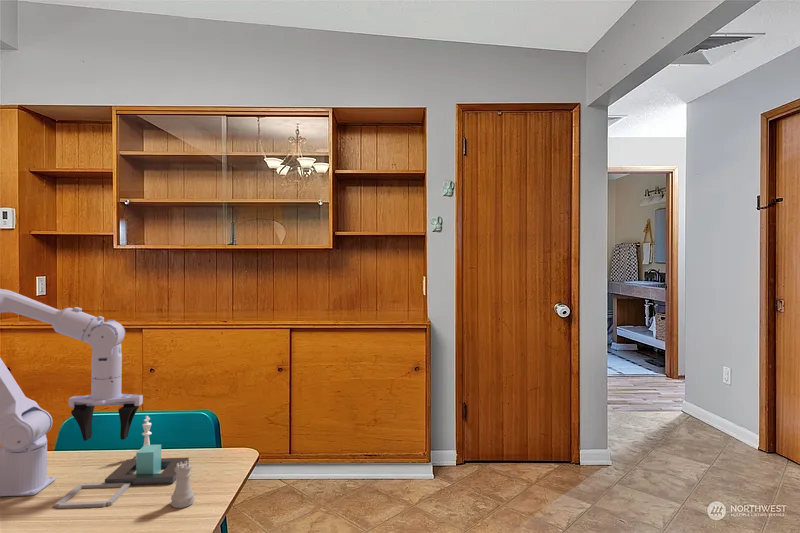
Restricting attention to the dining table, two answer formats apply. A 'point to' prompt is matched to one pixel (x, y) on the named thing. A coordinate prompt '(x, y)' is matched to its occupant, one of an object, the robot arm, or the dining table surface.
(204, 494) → the dining table surface
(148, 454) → the plug
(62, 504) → the open picture frame
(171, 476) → the port block
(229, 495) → the dining table surface
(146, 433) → the chess piece
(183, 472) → the rook chess piece
